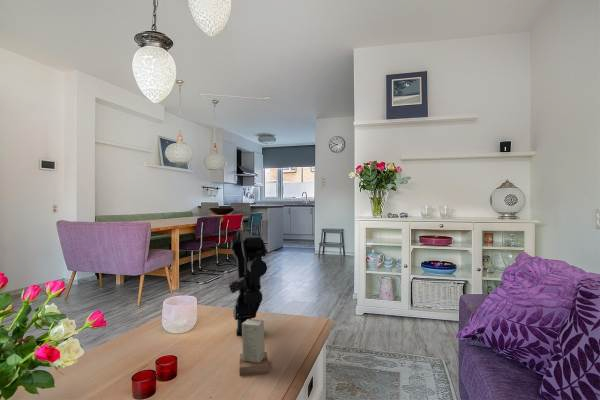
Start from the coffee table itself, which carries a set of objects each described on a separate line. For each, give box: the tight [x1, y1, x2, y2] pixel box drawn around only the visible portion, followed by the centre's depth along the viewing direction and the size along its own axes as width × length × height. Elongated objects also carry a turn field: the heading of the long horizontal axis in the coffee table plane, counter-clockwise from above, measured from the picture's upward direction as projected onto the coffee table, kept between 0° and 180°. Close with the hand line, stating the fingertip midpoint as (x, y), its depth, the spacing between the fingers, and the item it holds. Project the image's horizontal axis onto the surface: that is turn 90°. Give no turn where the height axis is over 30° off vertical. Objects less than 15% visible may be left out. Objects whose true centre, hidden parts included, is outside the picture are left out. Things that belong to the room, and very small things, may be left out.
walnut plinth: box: [239, 351, 270, 376], centre depth 105 cm, size 9×9×2 cm
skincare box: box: [241, 318, 266, 363], centre depth 105 cm, size 6×4×12 cm
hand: (252, 313), depth 118 cm, fingers open, 9 cm apart
